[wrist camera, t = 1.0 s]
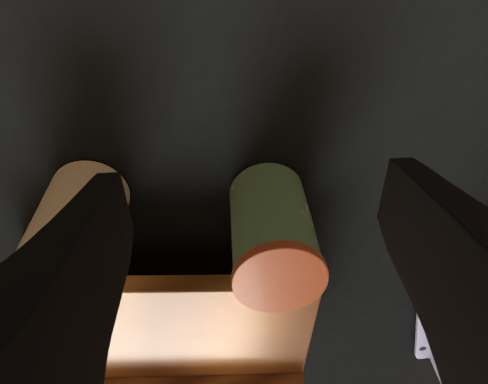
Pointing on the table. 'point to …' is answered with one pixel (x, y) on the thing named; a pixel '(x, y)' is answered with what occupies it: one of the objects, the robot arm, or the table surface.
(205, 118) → the table surface
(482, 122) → the table surface
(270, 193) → the sage tin
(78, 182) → the cream tin
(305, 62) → the table surface
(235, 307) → the shelf
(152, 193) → the table surface
